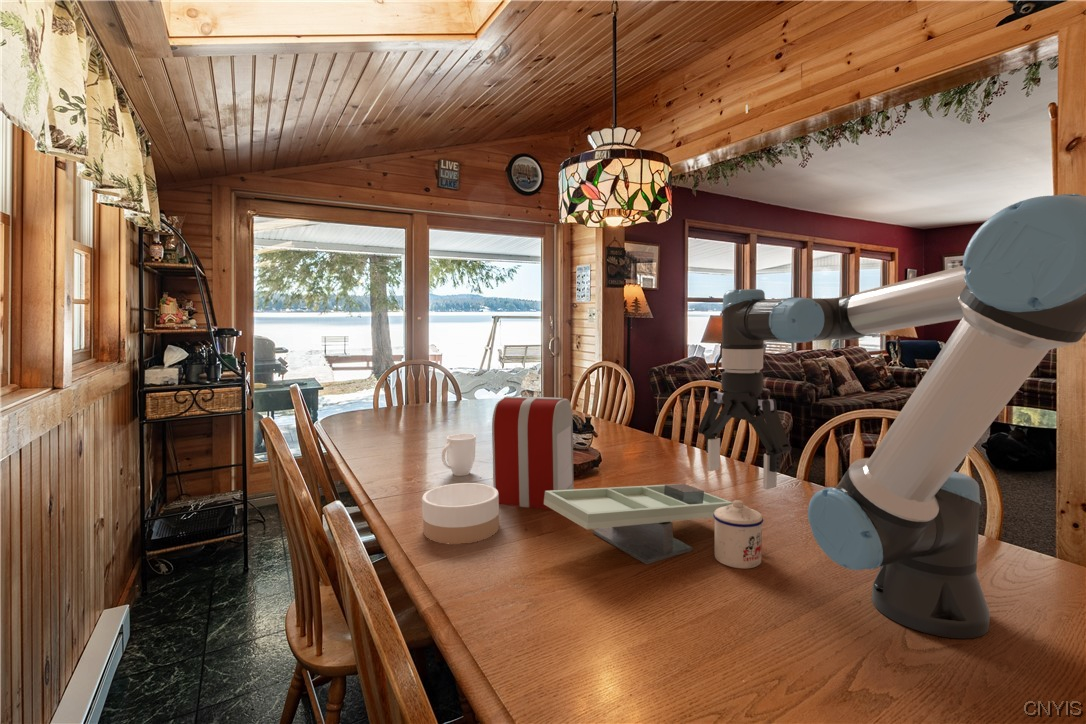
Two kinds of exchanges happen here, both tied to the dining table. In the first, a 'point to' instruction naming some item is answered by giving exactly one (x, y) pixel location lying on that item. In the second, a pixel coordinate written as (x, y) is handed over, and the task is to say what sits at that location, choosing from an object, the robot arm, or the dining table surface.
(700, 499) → the block
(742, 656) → the dining table surface
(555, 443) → the red striped block
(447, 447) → the mug
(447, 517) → the bowl
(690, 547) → the fulcrum
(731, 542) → the teacup with lid
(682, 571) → the dining table surface
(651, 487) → the divided tray
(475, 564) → the dining table surface
